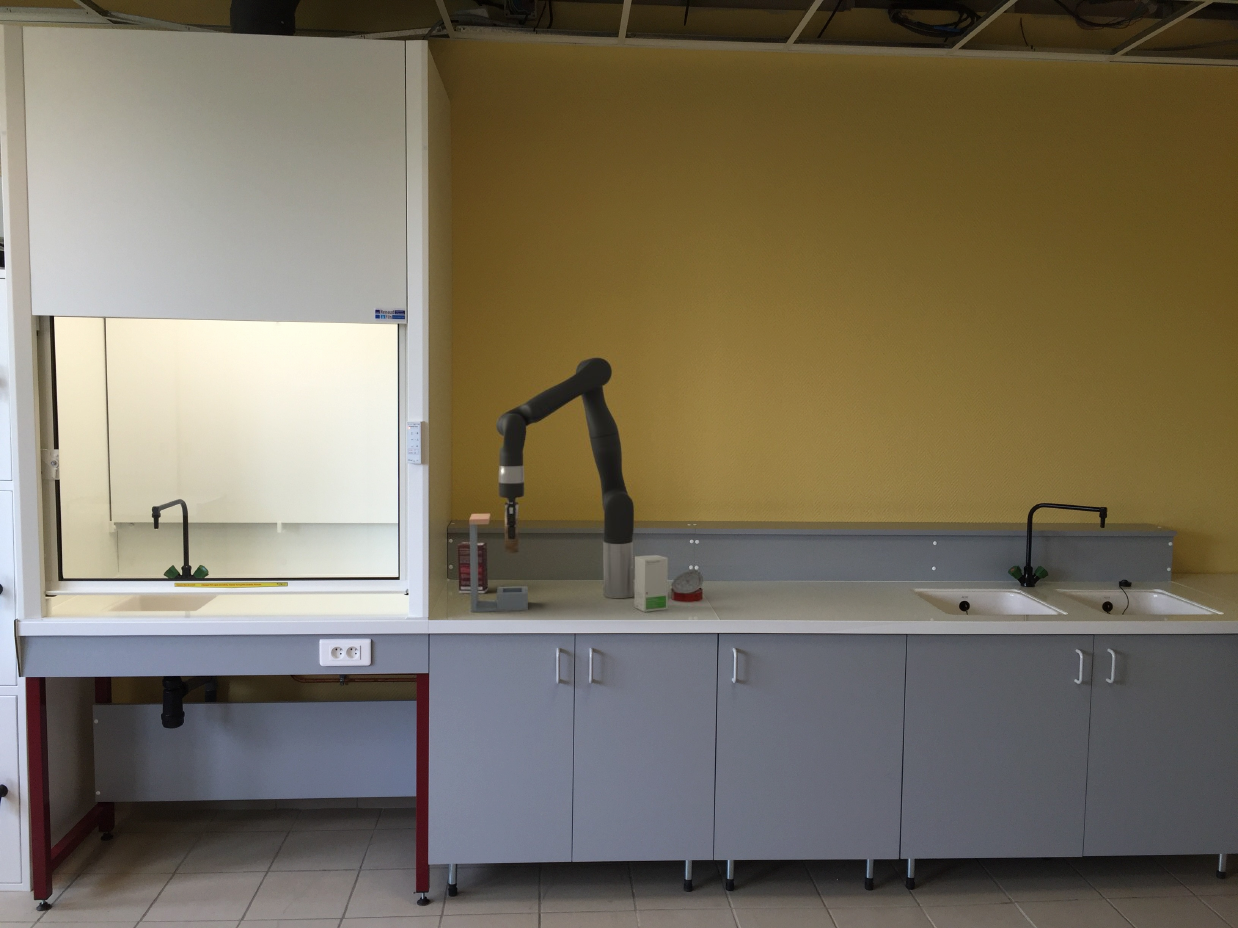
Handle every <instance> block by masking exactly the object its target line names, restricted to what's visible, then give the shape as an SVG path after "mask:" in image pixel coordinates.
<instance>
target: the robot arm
mask: <svg viewBox="0 0 1238 928" xmlns="http://www.w3.org/2000/svg"><path fill="white" fill-rule="evenodd" d="M612 374H613V370H612V365H611V364H610V363H609V362H608V361H607V360H606V359H604V358H601V357H592V358H591V357H590V358H587V359H584V360H582V361H580V362H579V363H578V365H577V366H576V368H575V373H574V374H573V375H572V376H570V377H568V378H567V379H565V380H563V381H562V382H560V383H558V384H555V385H553V386H551V387H550V388H548V389H545V390H543V391H542V392H540V393H537V395H535V396H533V397H532V398H530V399H529V400H527V401H526V402H524V403H523V404H520V405H518V406H516V407H514V408H512V409H510V410H507V411H505V412H504V413H503V414H501V415H500V416H499V417H498V419H497V420H496V424H495V427H496V431H497V432H498V434H499V435H501V436H503V442H502V446H501V447H500V449H499V461H498V462H499V469H498V497H500V498H503V499H505V498H506V499H507V502H505V503H504V509H505V512H506V519H507V527H508V539H515V538H516V535H515V527H516V519H517V511H518V510H519V502H517V500H516V498H519V499H520V498H522V497H524V496H525V471H524V470H525V469H524V447H525V443H526V436H527V427H528V426H530V425H532V424H537V423H539V422H540V421H543V420H544V419H545V418H547V417H549V416H551V414H553V413H555V412H557V411H558V410H559V409H561V408H562V407H564V406H566V405H567V404H568V403H570V402H572V401H573V400H575V399H576V398H578V397H580V396H581V400H582V403H583V408H584V412H585V413H584V414H585V419H586V423H587V428H588V430H587V431H588V435H589V441H590V447H591V451H592V456H593V458H594V459H593V460H594V463H595V466H596V469H597V472H598V475H599V480H600V488H601V501H602V510H603V511H604V513H603V515H604V517H603V520H604V521H603V522H604V524H603V526H604V528H603V537H602V538H603V539H602V540H603V544H602V545H603V547H602V549H603V550H602V551H603V554H602V555H603V565H602V566H603V568H602V569H603V589H602V590H603V596H604V597H606V598H611V599H626V598H632V597H634V598H635V566H633V563H634V562H633V559H634V558H633V551H634V549H633V545H634V544H633V540H634V539H633V536H634V531H635V529H634V527H635V525H634V523H635V508H634V506H635V505H634V502H633V499H632V497H630V495H629V494H628V490H627V487H626V483H625V481H624V480H625V479H624V474H623V459H622V458H623V453H622V452H623V451H622V445H621V439H620V433H619V428H618V425H617V423H616V421H615V419H614V416H613V415H612V413H611V411H610V409H609V407H608V405H607V402H606V399H605V395H604V387H603V386H606V385H607V384H608V383H609V382H610V380H611V379H612V378H611V377H612ZM515 511H516V514H515ZM518 512H519V511H518ZM509 519H514V521H509Z"/></svg>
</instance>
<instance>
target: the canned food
mask: <svg viewBox="0 0 1238 928" xmlns="http://www.w3.org/2000/svg"><path fill="white" fill-rule="evenodd" d="M703 584H704V577H703V575H702V573H701V572H700V571H698V570H696V569H691V570H688V571H685V572H682V573H680V574H679V575H677V576H676V577H675V578H674V579H673V580H672V583H671V589H670V593H671V596H670V598H671V600H673V601H675V602H680V603H697V602H700V601H702V600H703V589H704V588H702V587H703Z"/></svg>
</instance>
